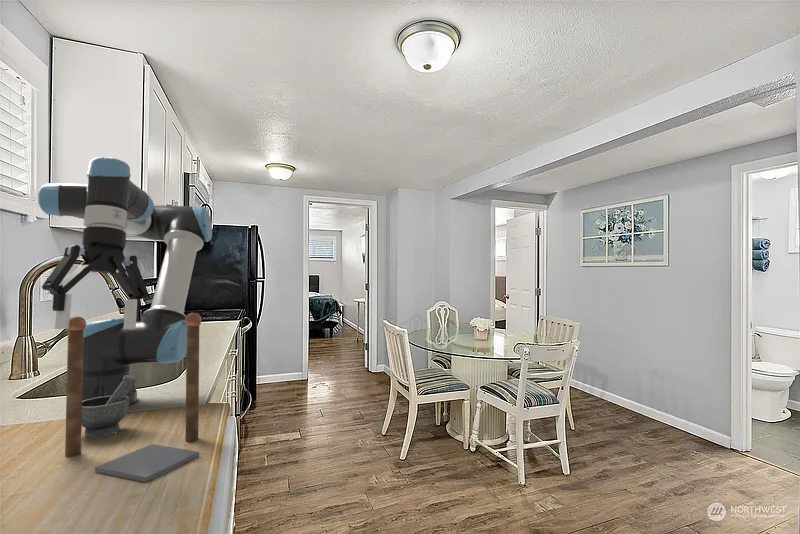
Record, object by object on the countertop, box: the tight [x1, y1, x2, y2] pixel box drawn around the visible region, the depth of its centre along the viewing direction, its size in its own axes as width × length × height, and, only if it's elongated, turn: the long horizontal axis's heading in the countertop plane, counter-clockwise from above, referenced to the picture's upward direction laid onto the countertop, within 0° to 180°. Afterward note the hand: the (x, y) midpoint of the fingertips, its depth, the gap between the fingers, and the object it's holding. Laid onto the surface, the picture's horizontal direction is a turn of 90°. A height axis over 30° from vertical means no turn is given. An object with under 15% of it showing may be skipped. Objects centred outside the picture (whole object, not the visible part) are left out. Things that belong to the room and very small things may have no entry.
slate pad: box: [94, 443, 200, 483], centre depth 76 cm, size 11×12×1 cm
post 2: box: [184, 312, 202, 443], centre depth 88 cm, size 3×3×26 cm
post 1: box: [64, 315, 87, 457], centre depth 81 cm, size 3×3×26 cm
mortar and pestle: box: [82, 375, 138, 438], centre depth 93 cm, size 11×9×12 cm
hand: (98, 329), depth 86 cm, fingers open, 13 cm apart
